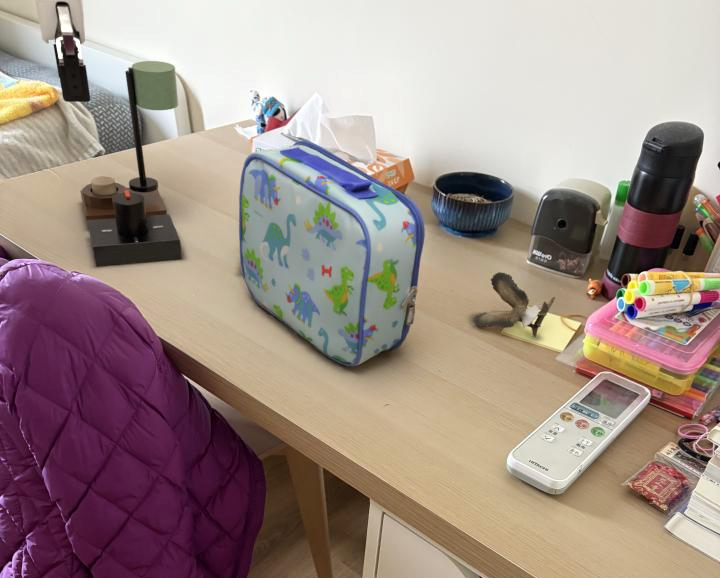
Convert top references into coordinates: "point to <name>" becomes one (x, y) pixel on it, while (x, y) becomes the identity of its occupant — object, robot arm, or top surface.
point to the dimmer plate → (134, 242)
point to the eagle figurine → (513, 306)
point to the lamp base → (103, 204)
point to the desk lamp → (149, 106)
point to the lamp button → (103, 185)
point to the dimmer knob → (130, 213)
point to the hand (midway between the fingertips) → (74, 89)
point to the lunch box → (329, 250)
